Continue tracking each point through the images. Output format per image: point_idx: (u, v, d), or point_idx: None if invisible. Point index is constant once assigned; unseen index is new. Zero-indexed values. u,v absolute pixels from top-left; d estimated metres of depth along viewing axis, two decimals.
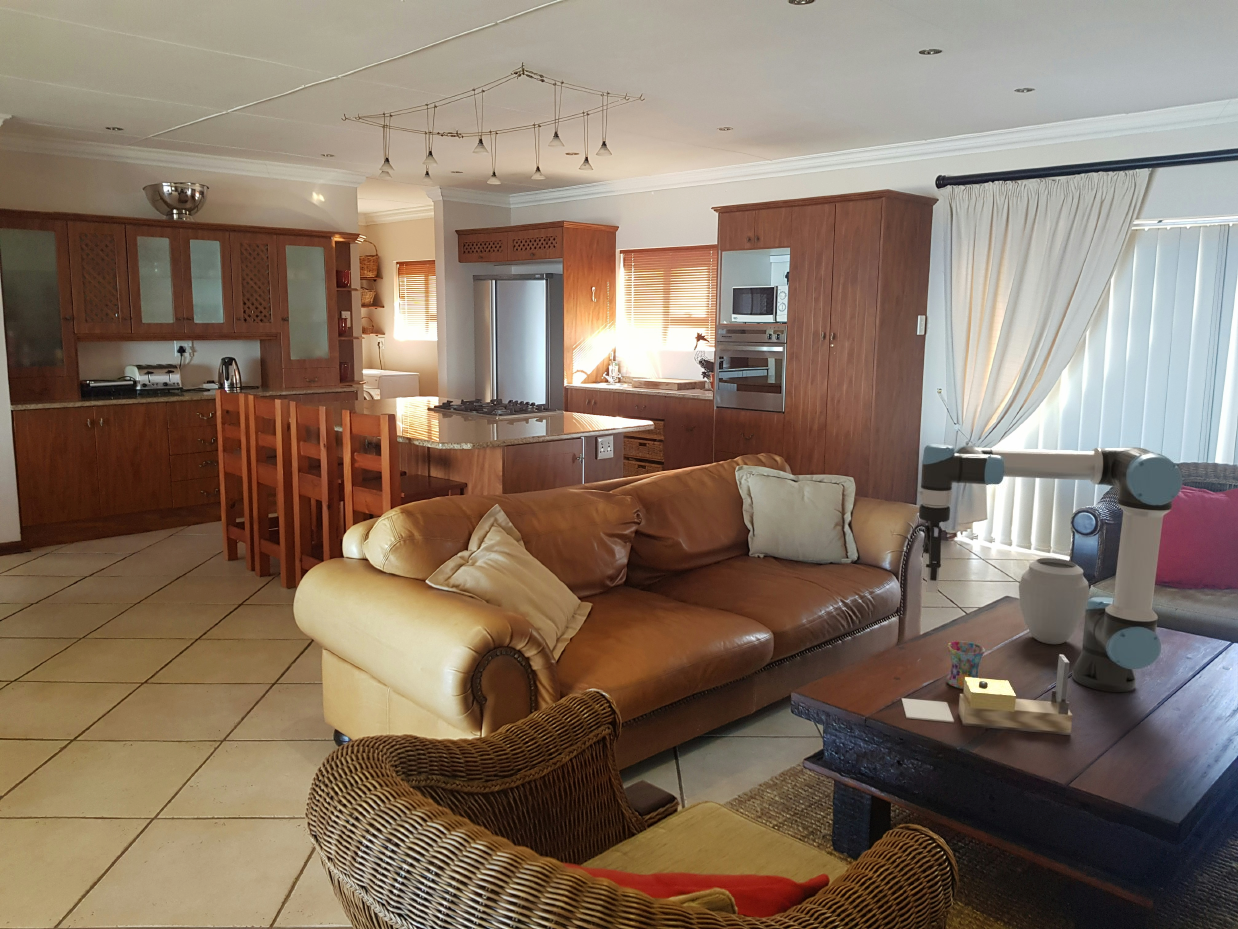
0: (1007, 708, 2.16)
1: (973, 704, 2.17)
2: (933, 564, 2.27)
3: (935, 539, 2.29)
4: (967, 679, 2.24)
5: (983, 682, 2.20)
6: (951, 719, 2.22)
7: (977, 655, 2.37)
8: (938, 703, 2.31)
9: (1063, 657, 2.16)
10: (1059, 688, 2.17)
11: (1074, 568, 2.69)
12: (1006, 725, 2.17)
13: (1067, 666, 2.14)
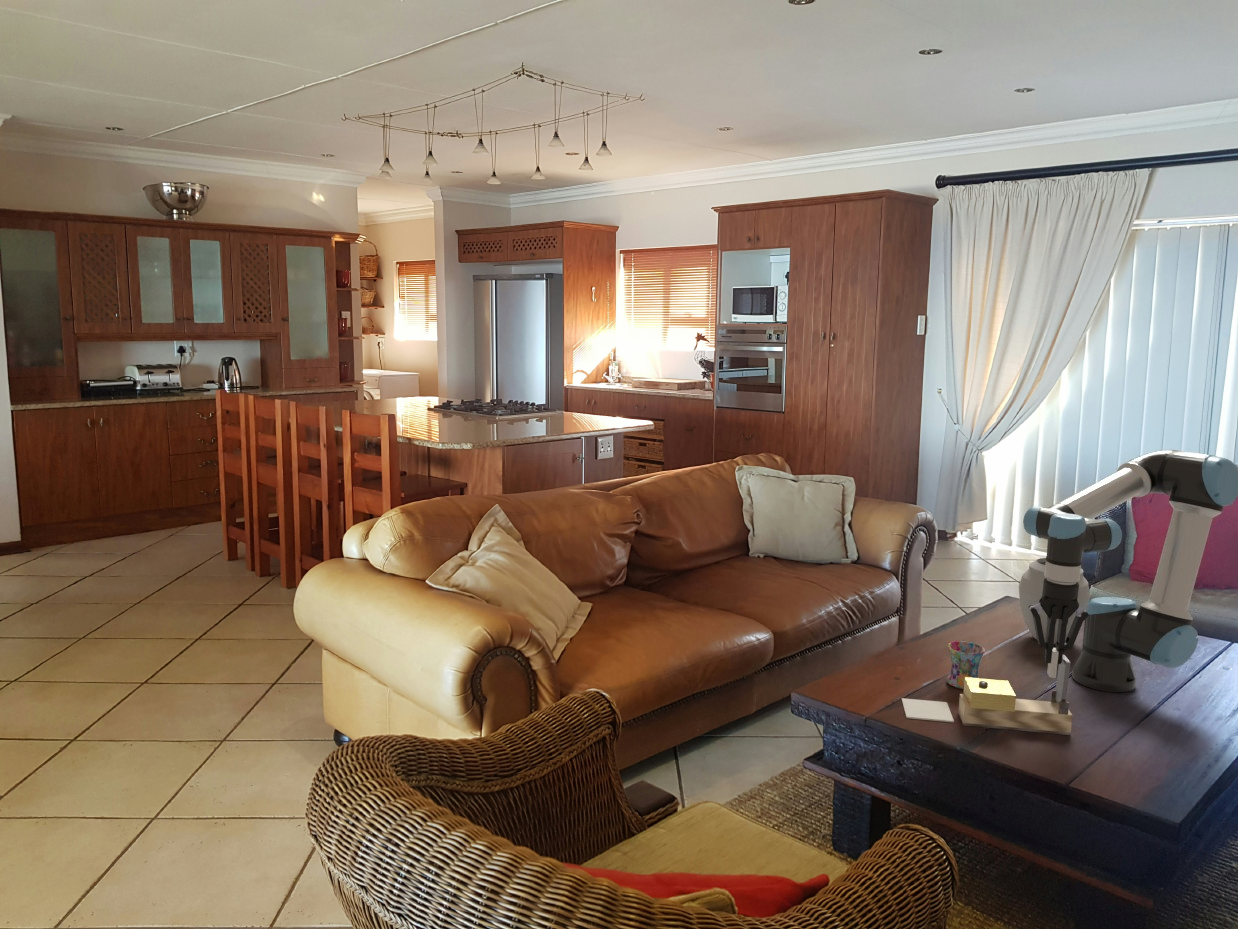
0: (1007, 708, 2.16)
1: (973, 704, 2.17)
2: (1038, 641, 2.17)
3: (1033, 617, 2.16)
4: (967, 679, 2.24)
5: (983, 682, 2.20)
6: (951, 719, 2.22)
7: (977, 655, 2.37)
8: (938, 703, 2.31)
9: (1064, 657, 2.16)
10: (1060, 688, 2.17)
11: None
12: (1006, 725, 2.17)
13: (1068, 666, 2.14)
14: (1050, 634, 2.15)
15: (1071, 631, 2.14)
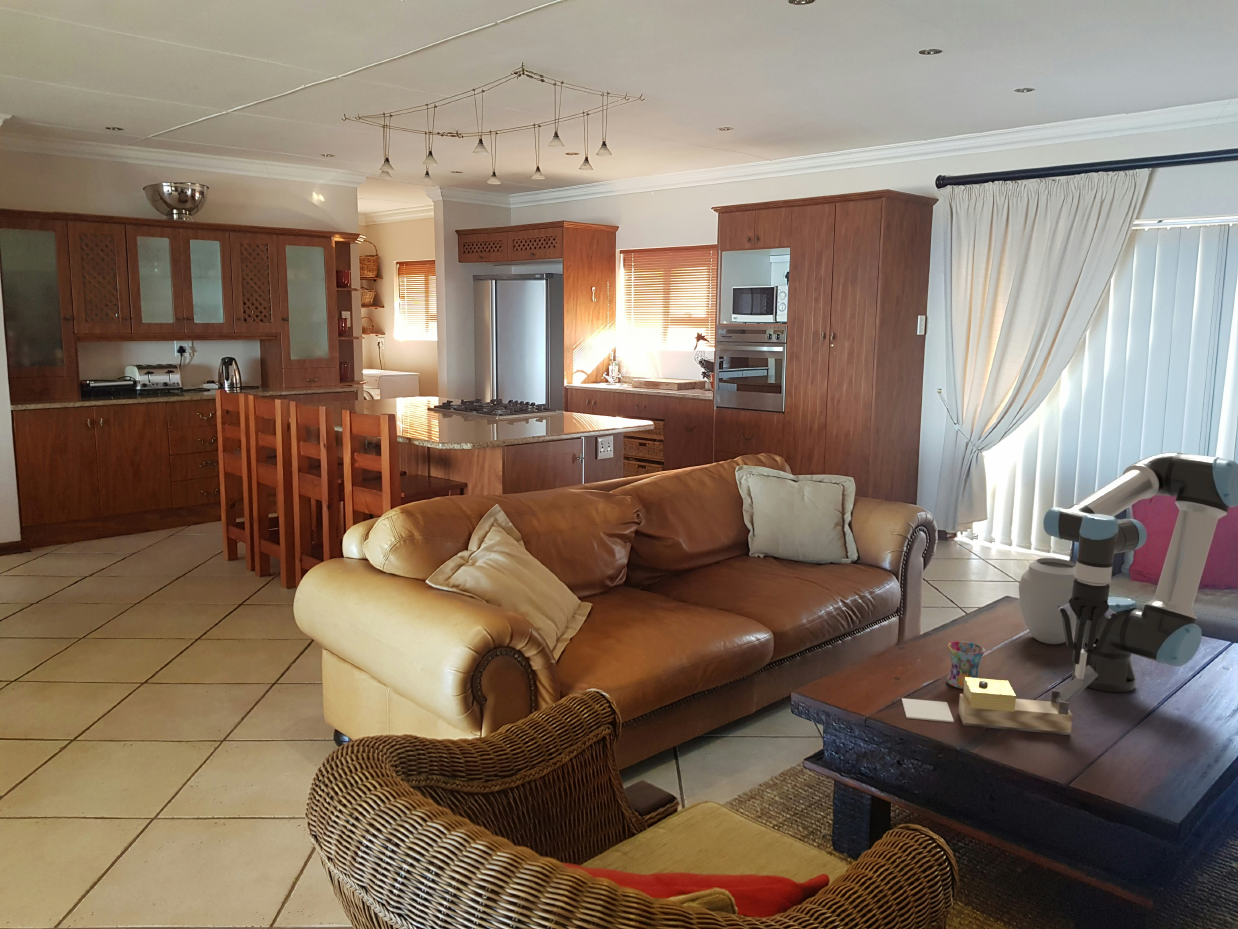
0: (1007, 708, 2.16)
1: (973, 704, 2.17)
2: (1066, 642, 2.16)
3: (1062, 618, 2.15)
4: (967, 679, 2.24)
5: (983, 682, 2.20)
6: (951, 719, 2.22)
7: (977, 655, 2.37)
8: (938, 703, 2.31)
9: (1092, 668, 2.16)
10: (1069, 691, 2.16)
11: (1074, 568, 2.69)
12: (1006, 725, 2.17)
13: (1094, 677, 2.13)
14: (1079, 635, 2.13)
15: (1100, 632, 2.13)
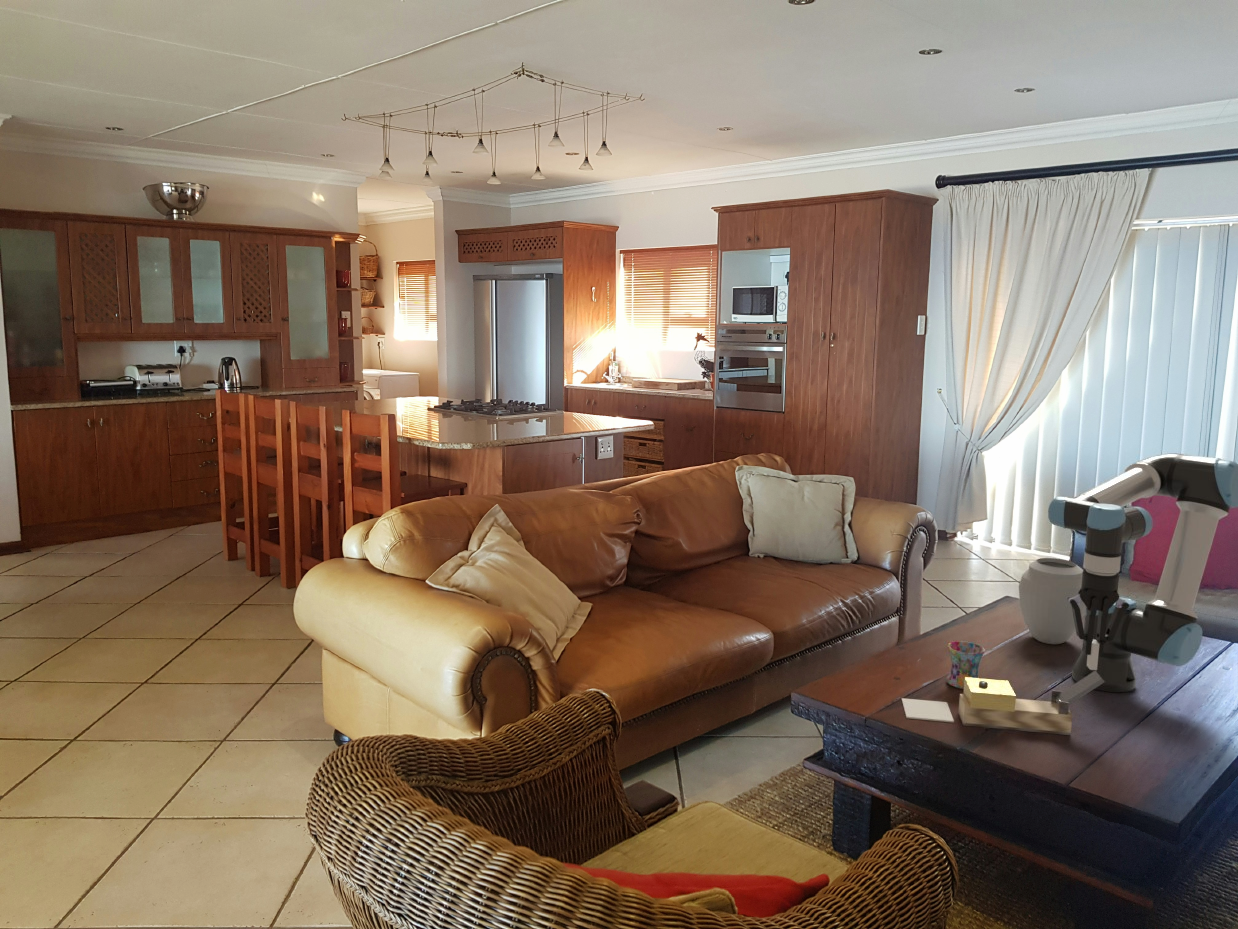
0: (1007, 708, 2.16)
1: (973, 704, 2.17)
2: (1077, 633, 2.15)
3: (1073, 609, 2.14)
4: (967, 679, 2.24)
5: (983, 682, 2.20)
6: (951, 719, 2.22)
7: (977, 655, 2.37)
8: (938, 703, 2.31)
9: (1099, 675, 2.15)
10: (1072, 693, 2.16)
11: (1074, 568, 2.69)
12: (1006, 725, 2.17)
13: (1100, 683, 2.13)
14: (1090, 626, 2.13)
15: (1111, 622, 2.12)
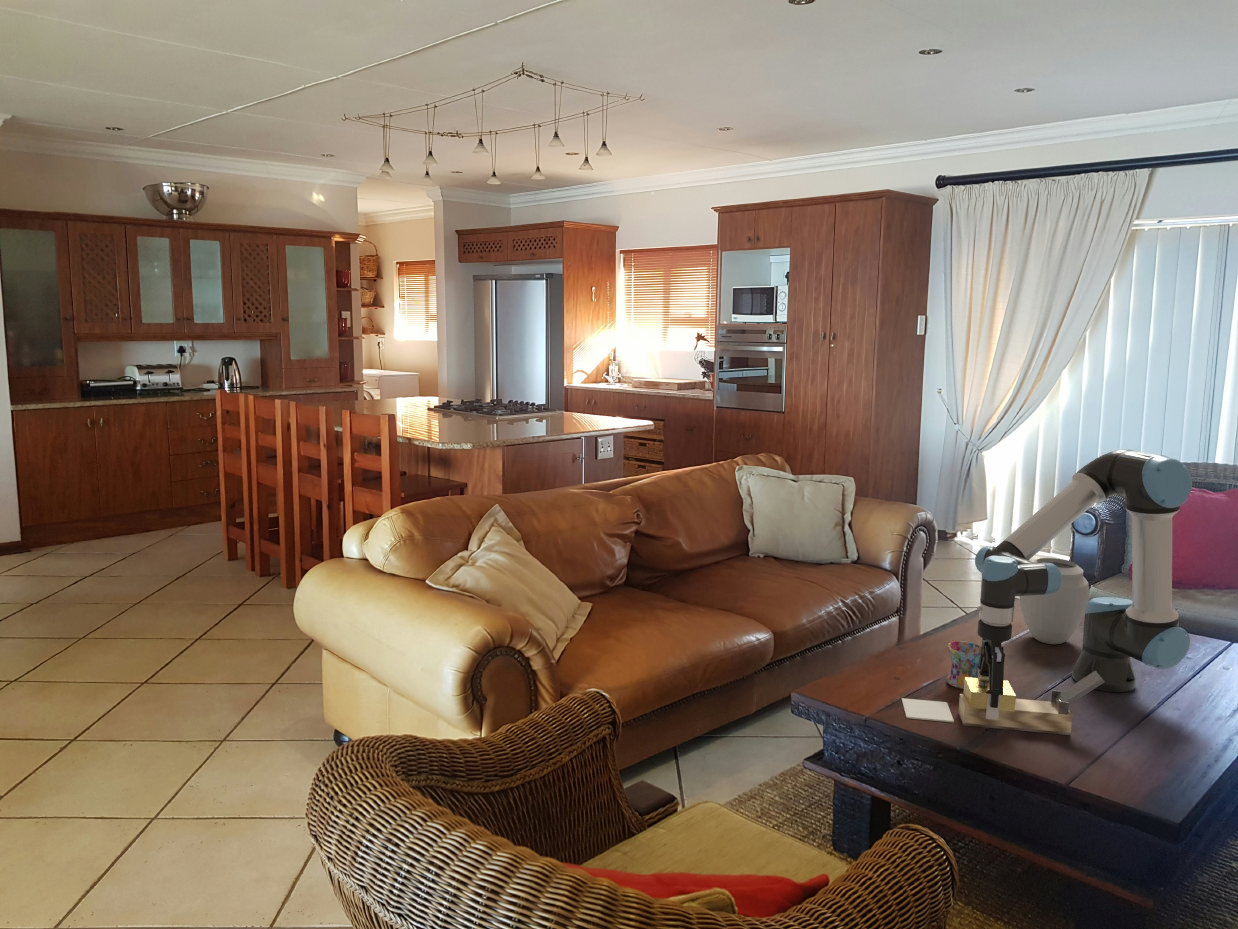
0: (1007, 708, 2.16)
1: (973, 704, 2.17)
2: (995, 691, 2.12)
3: (997, 664, 2.12)
4: (967, 679, 2.24)
5: (983, 682, 2.20)
6: (951, 719, 2.22)
7: (977, 655, 2.37)
8: (938, 703, 2.31)
9: (1099, 675, 2.15)
10: (1072, 693, 2.16)
11: (1074, 568, 2.69)
12: (1006, 725, 2.17)
13: (1100, 683, 2.13)
14: None
15: None
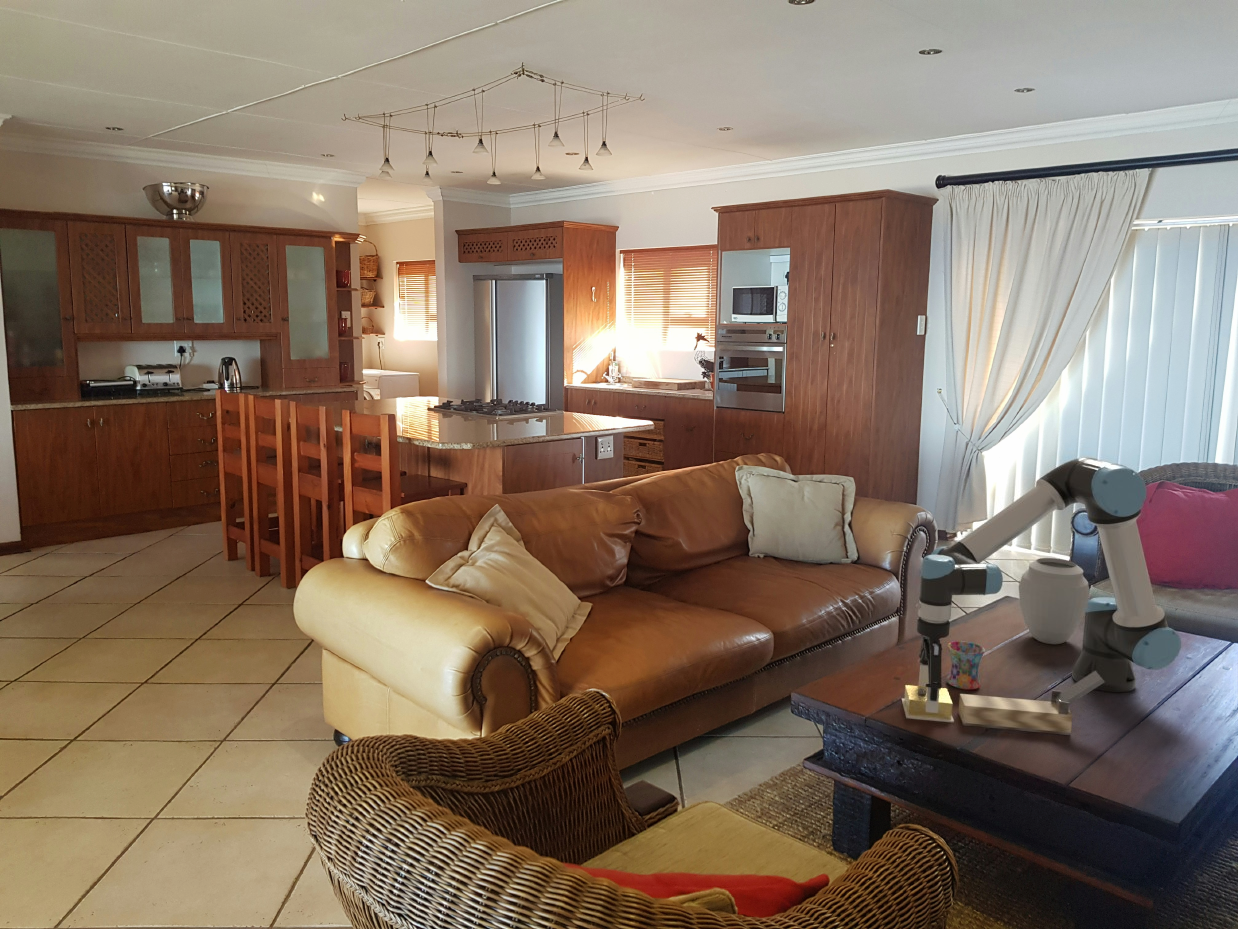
0: (944, 715, 2.22)
1: (911, 711, 2.23)
2: (934, 685, 2.16)
3: (935, 657, 2.17)
4: (907, 687, 2.30)
5: (922, 690, 2.27)
6: (951, 719, 2.22)
7: (977, 655, 2.37)
8: None
9: (1099, 675, 2.15)
10: (1072, 693, 2.16)
11: (1074, 568, 2.69)
12: (1006, 725, 2.17)
13: (1100, 683, 2.13)
14: None
15: None
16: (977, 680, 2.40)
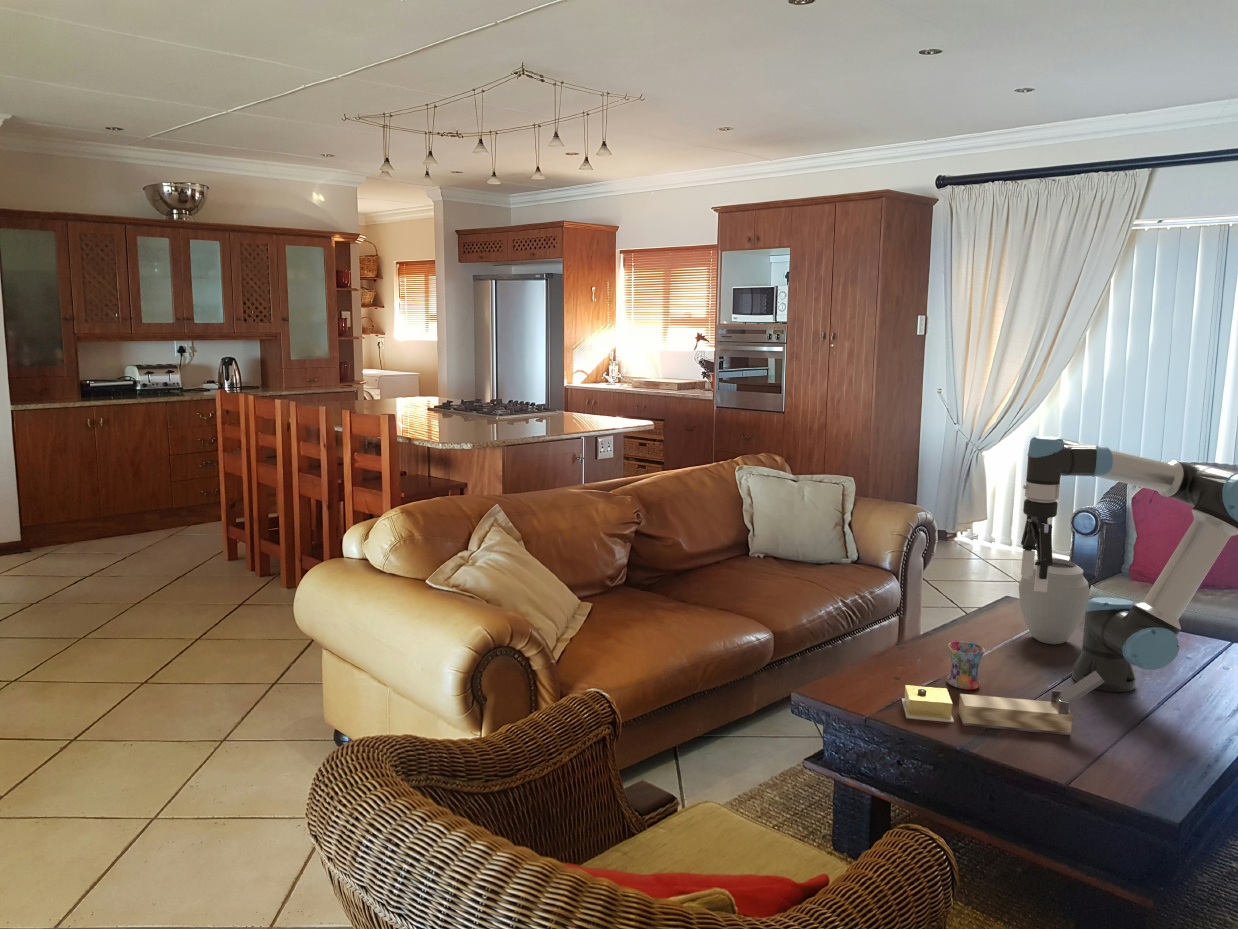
0: (944, 715, 2.22)
1: (911, 711, 2.23)
2: (1045, 561, 2.16)
3: (1045, 535, 2.18)
4: (907, 687, 2.30)
5: (922, 690, 2.27)
6: (951, 719, 2.22)
7: (977, 655, 2.37)
8: None
9: (1099, 675, 2.15)
10: (1072, 693, 2.16)
11: (1074, 568, 2.69)
12: (1006, 725, 2.17)
13: (1100, 683, 2.13)
14: None
15: None
16: (977, 680, 2.40)
